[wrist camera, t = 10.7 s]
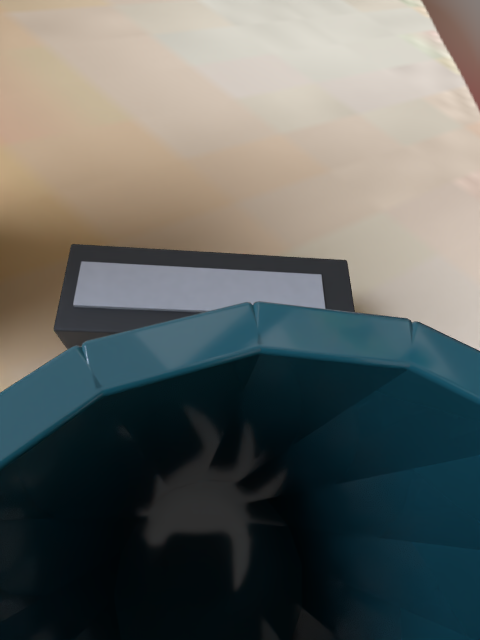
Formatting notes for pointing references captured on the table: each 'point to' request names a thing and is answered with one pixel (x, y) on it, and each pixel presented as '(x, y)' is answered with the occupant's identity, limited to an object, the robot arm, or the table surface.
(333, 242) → the table surface
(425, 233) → the table surface
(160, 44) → the table surface
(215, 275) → the stapler
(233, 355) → the pen pot
